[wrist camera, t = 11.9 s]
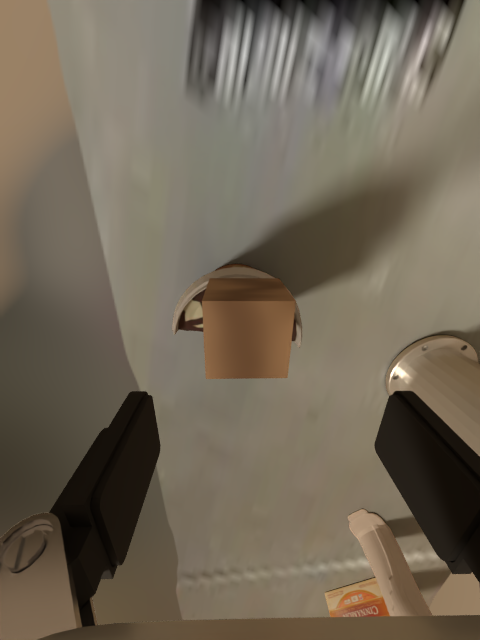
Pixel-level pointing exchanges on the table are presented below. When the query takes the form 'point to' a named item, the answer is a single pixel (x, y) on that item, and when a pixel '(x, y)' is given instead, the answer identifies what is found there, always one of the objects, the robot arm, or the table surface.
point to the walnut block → (247, 328)
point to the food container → (191, 301)
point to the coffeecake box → (357, 600)
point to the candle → (388, 565)
